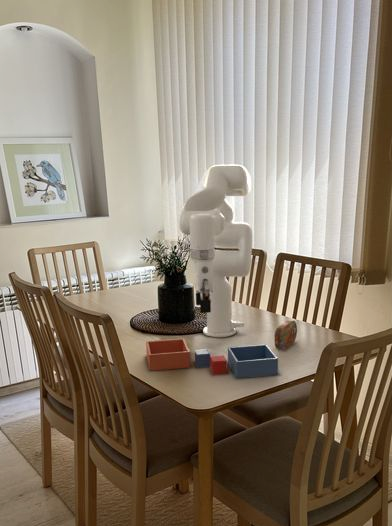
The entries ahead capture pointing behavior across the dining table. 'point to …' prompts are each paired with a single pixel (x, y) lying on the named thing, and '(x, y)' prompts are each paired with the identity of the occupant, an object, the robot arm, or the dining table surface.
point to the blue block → (202, 358)
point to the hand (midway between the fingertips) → (203, 308)
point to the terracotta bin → (167, 354)
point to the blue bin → (252, 361)
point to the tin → (285, 335)
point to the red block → (218, 365)
